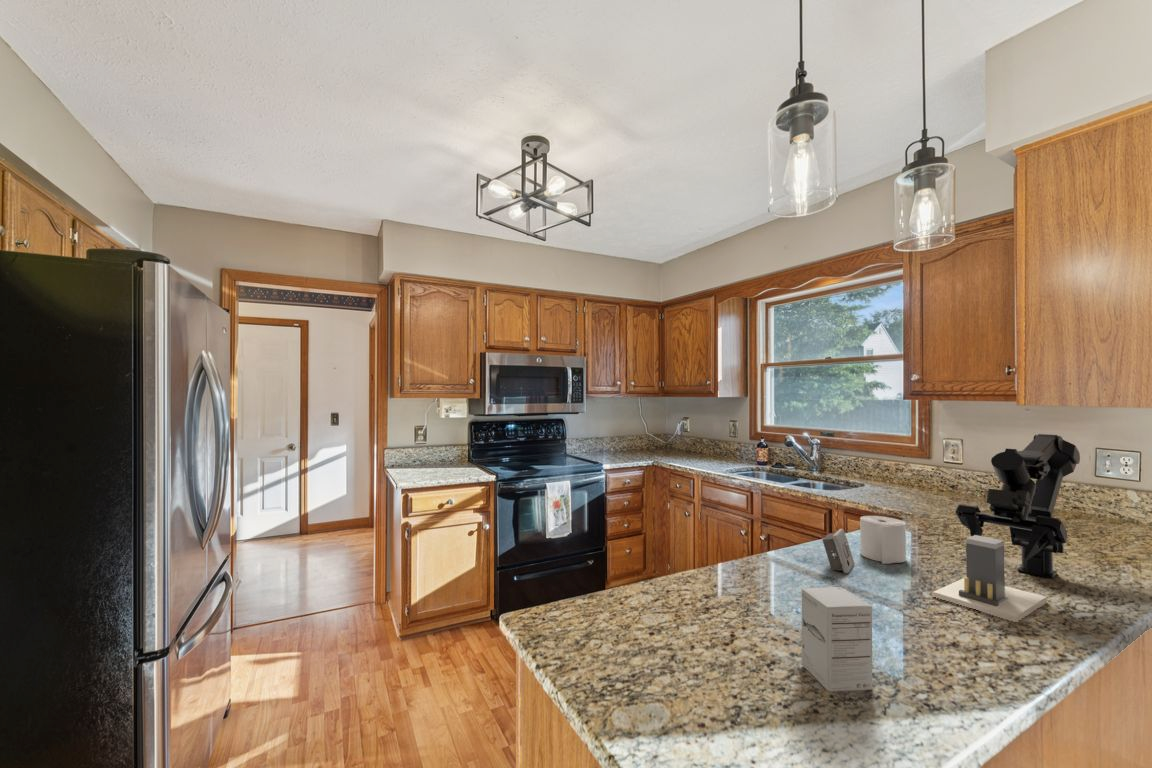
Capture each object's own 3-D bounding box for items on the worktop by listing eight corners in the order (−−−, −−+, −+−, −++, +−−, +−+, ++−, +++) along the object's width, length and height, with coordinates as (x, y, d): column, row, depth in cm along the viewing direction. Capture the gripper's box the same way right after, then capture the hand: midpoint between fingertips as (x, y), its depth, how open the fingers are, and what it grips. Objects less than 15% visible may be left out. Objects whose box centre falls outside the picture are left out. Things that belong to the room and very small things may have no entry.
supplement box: (800, 665, 79) (799, 587, 80) (843, 663, 80) (842, 585, 80) (827, 693, 72) (826, 606, 72) (874, 691, 73) (873, 605, 73)
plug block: (975, 589, 108) (975, 534, 108) (1004, 597, 104) (1003, 540, 104) (966, 594, 105) (966, 538, 106) (996, 602, 101) (995, 544, 102)
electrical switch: (848, 575, 120) (843, 536, 121) (825, 572, 123) (820, 534, 124) (855, 565, 128) (850, 528, 128) (833, 562, 131) (829, 527, 132)
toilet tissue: (888, 550, 140) (888, 515, 140) (919, 565, 128) (919, 526, 128) (852, 550, 139) (851, 515, 140) (879, 565, 127) (879, 526, 128)
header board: (967, 581, 117) (967, 559, 117) (1046, 602, 105) (1046, 577, 105) (933, 597, 107) (932, 573, 107) (1016, 622, 95) (1015, 595, 95)
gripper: (957, 471, 121) (938, 522, 114) (1060, 481, 105) (1045, 541, 99) (971, 499, 124) (954, 550, 118) (1073, 513, 109) (1059, 573, 102)
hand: (999, 553), depth 109 cm, fingers open, 9 cm apart
